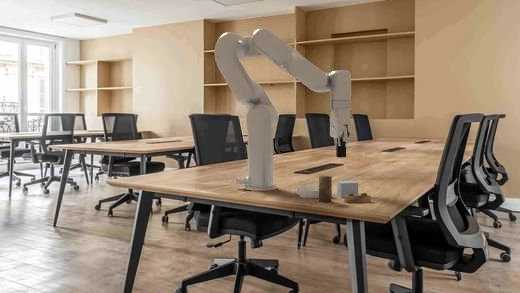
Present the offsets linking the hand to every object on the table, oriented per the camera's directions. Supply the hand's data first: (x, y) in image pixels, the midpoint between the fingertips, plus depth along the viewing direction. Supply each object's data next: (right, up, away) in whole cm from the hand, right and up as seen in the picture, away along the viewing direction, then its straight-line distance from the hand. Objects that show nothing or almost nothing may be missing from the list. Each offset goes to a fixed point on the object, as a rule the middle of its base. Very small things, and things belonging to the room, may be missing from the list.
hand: (341, 157), depth 153 cm
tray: (-11, -13, -6) cm, 18 cm away
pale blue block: (+1, -13, -8) cm, 15 cm away
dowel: (-8, -14, -16) cm, 23 cm away
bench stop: (+2, -14, -17) cm, 22 cm away
